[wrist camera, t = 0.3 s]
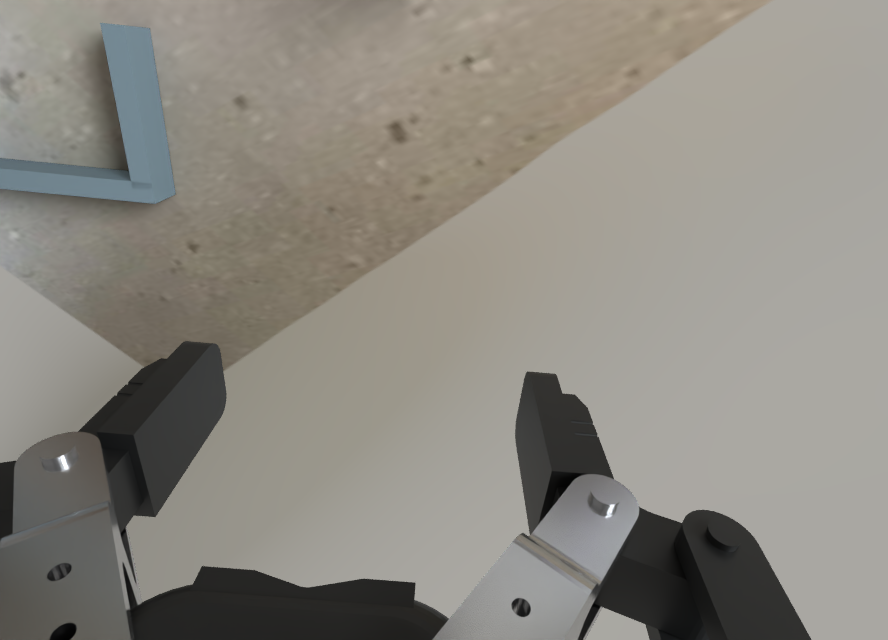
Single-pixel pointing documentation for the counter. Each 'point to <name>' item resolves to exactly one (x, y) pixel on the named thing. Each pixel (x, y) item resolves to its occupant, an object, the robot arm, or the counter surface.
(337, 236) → the counter surface
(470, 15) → the counter surface
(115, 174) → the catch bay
